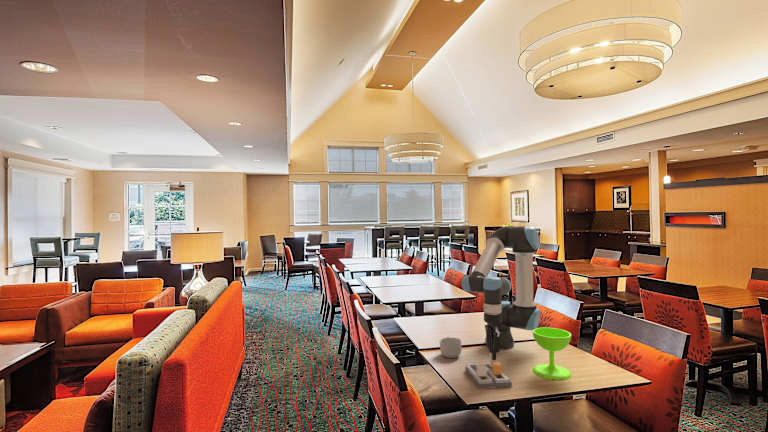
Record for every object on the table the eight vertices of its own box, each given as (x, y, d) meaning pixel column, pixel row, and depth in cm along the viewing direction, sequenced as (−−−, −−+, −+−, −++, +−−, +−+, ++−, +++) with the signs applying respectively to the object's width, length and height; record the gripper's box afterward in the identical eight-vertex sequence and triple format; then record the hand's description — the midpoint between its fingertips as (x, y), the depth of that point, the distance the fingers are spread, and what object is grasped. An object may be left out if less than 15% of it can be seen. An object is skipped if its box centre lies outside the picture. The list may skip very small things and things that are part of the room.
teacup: (461, 360, 190) (461, 344, 190) (439, 359, 192) (438, 343, 192) (461, 351, 204) (461, 335, 204) (440, 349, 206) (440, 334, 206)
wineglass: (527, 365, 183) (527, 327, 183) (562, 365, 183) (562, 327, 183) (540, 380, 167) (540, 338, 167) (578, 380, 167) (578, 338, 167)
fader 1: (484, 376, 166) (484, 363, 166) (486, 378, 163) (486, 366, 163) (476, 376, 166) (476, 363, 166) (479, 379, 163) (479, 366, 163)
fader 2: (499, 374, 168) (499, 362, 168) (502, 377, 165) (501, 364, 165) (492, 374, 167) (491, 362, 167) (494, 377, 164) (494, 365, 164)
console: (495, 369, 179) (495, 362, 179) (511, 386, 161) (511, 379, 161) (465, 371, 177) (465, 364, 177) (478, 388, 159) (478, 380, 159)
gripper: (479, 309, 177) (479, 361, 177) (490, 317, 164) (490, 372, 164) (494, 308, 178) (495, 360, 178) (507, 316, 165) (507, 371, 165)
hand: (493, 366), depth 171 cm, fingers closed
